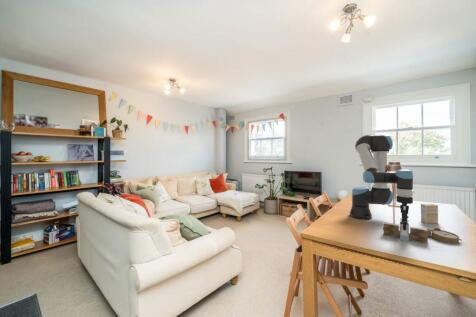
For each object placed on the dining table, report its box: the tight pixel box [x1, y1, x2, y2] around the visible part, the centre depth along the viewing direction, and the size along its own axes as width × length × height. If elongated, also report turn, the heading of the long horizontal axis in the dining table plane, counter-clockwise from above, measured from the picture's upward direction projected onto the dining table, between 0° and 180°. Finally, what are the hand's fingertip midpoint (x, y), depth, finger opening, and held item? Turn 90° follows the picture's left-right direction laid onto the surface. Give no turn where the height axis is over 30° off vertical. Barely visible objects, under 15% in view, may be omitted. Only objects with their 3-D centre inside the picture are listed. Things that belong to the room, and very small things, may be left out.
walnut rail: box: [383, 222, 429, 244], centre depth 120 cm, size 20×3×7 cm, turn 51°
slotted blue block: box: [399, 217, 410, 243], centre depth 120 cm, size 10×4×10 cm, turn 141°
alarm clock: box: [426, 227, 463, 244], centre depth 120 cm, size 11×5×15 cm
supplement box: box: [420, 203, 439, 224], centre depth 146 cm, size 8×5×13 cm, turn 84°
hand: (404, 231), depth 120 cm, fingers open, 13 cm apart
